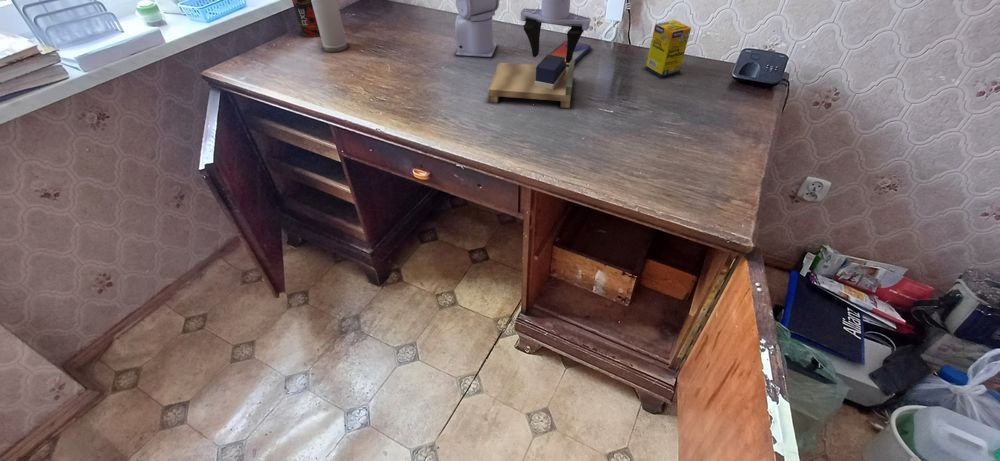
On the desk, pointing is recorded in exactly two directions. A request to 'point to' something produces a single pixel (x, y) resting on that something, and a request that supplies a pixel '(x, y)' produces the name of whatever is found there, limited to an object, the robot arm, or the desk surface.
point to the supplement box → (667, 48)
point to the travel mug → (330, 25)
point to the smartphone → (577, 53)
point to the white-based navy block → (550, 71)
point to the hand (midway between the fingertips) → (551, 58)
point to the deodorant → (306, 18)
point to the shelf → (529, 84)
